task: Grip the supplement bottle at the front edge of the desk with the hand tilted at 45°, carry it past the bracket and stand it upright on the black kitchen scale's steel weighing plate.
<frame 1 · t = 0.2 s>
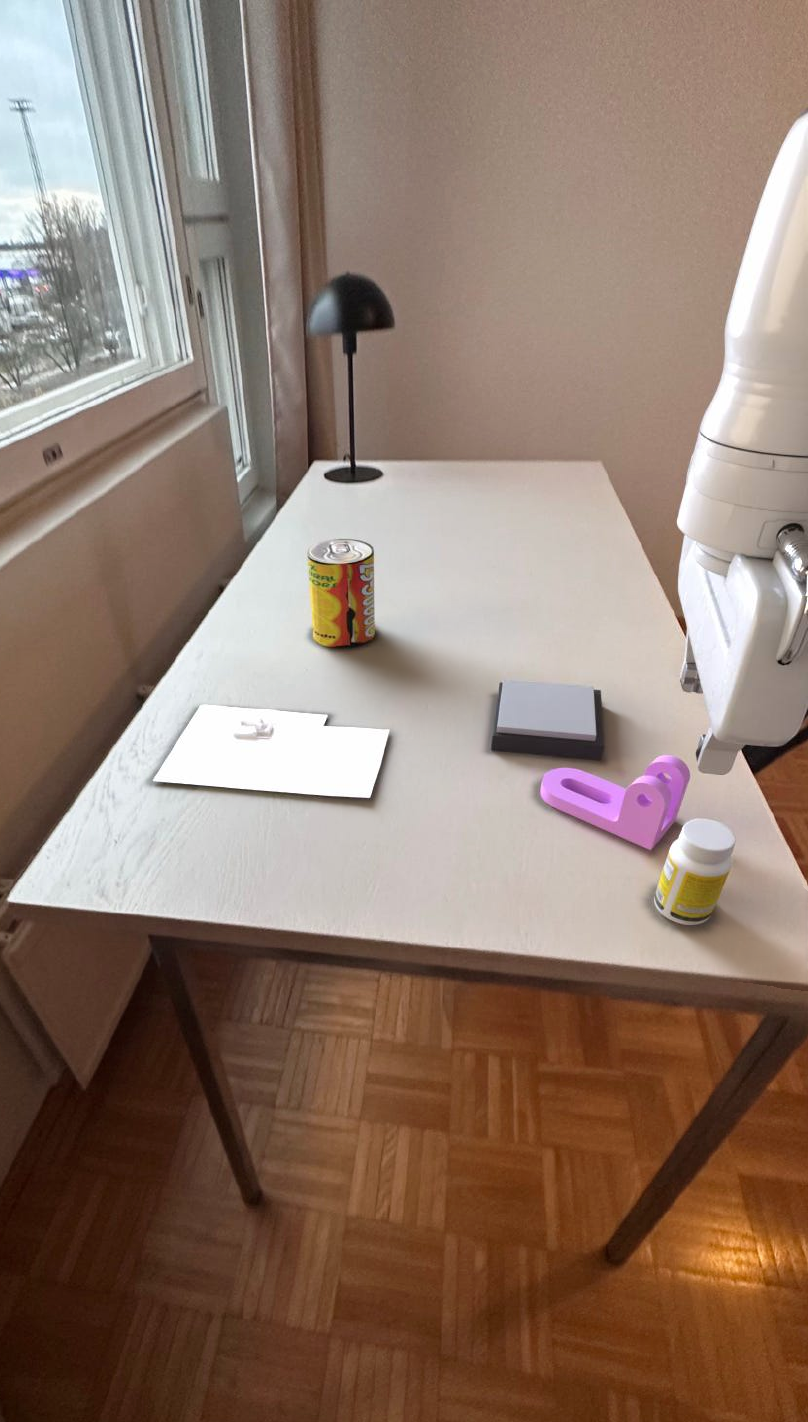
hand: (701, 724, 47), 22 cm above the table, tool pointing down, fingers open, 8 cm apart
bracket: (600, 810, 74), on the table
beverage can: (343, 634, 106), on the table
supplement bottle: (681, 908, 64), on the table
paper: (277, 750, 84), on the table
scale: (546, 726, 86), on the table
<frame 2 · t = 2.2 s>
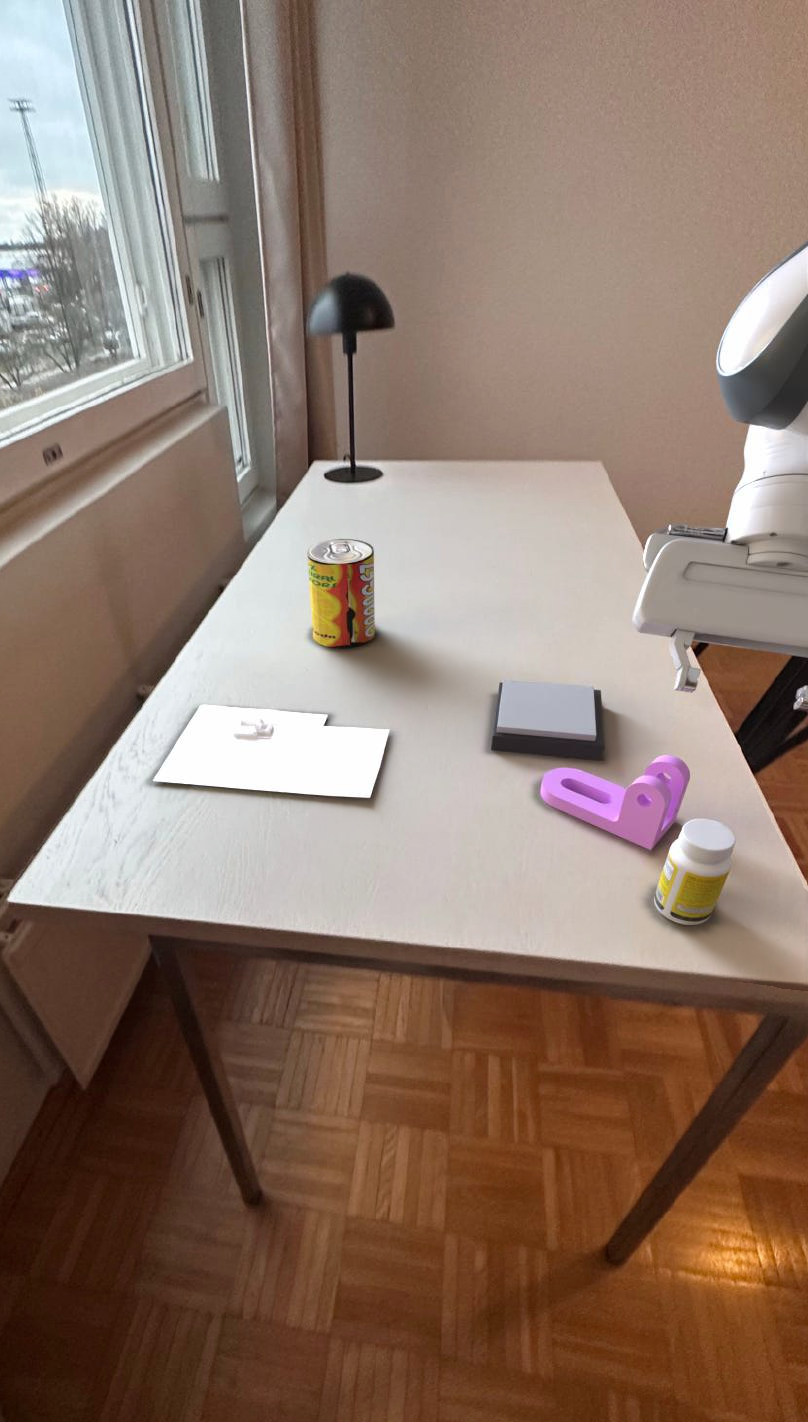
hand: (744, 700, 61), 15 cm above the table, tool tilted 40°, fingers open, 8 cm apart
nothing on the table moved.
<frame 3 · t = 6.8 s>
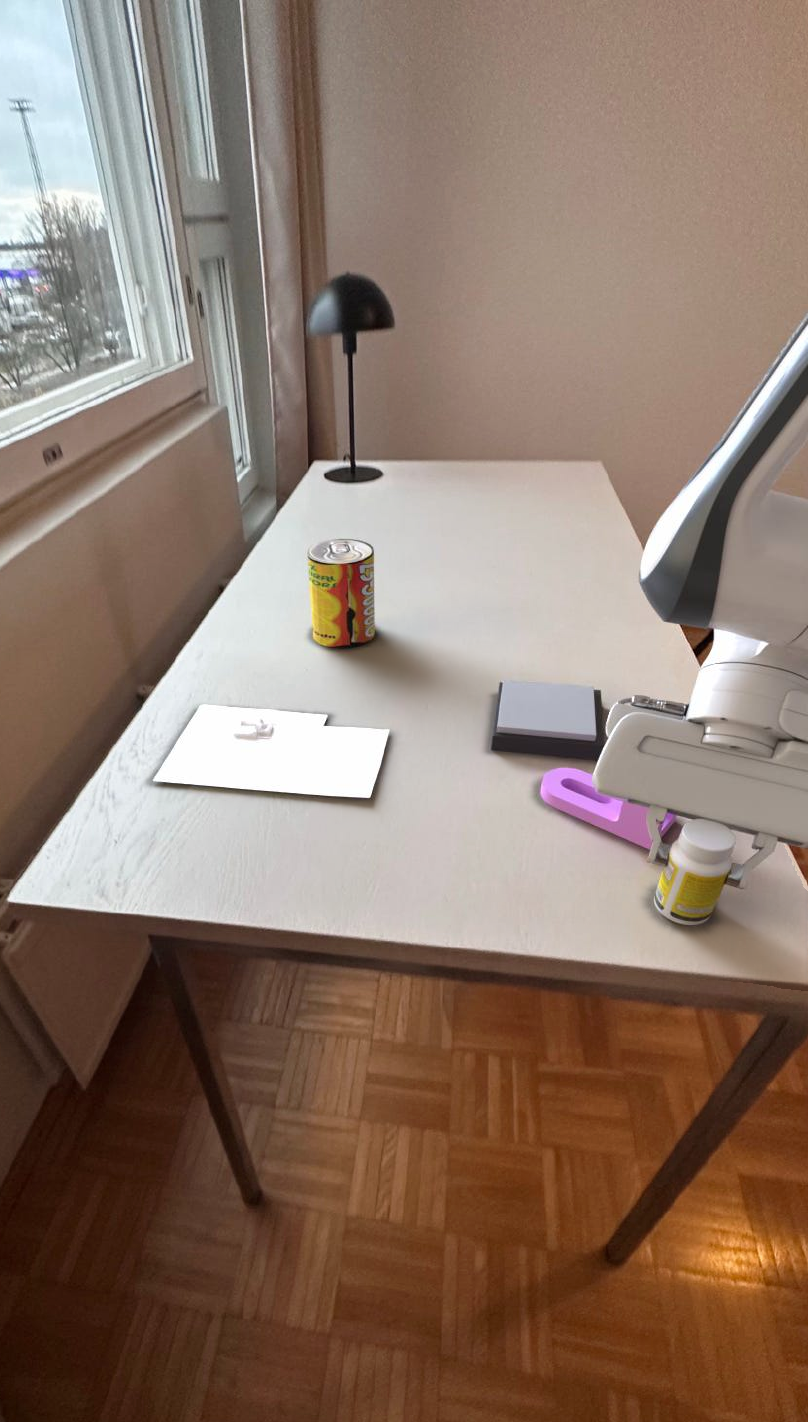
hand: (694, 875, 61), 4 cm above the table, tool tilted 45°, fingers closed on supplement bottle, 5 cm apart
supplement bottle: (680, 908, 64), on the table, touching gripper
everything else where it was.
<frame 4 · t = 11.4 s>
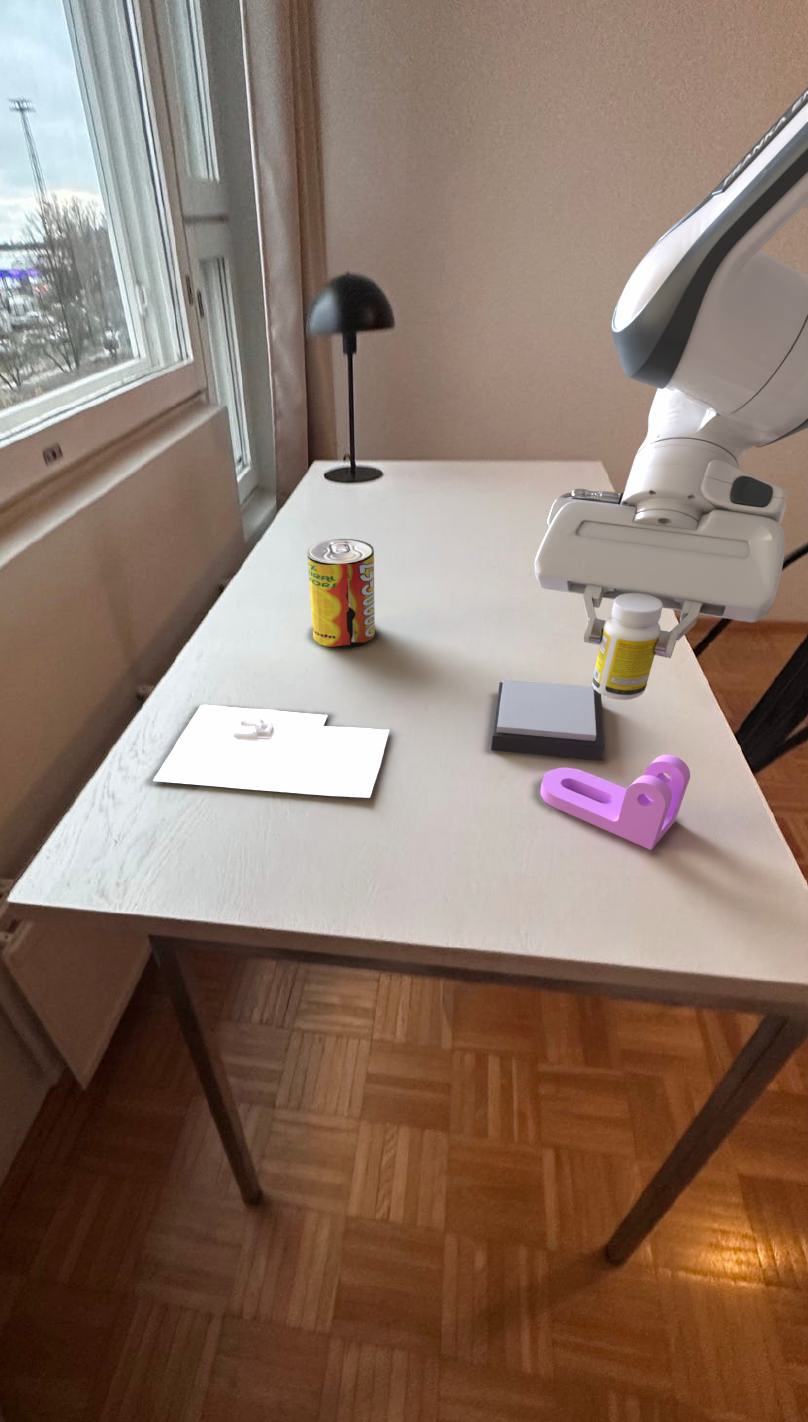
hand: (626, 648, 65), 17 cm above the table, tool tilted 45°, fingers closed on supplement bottle, 5 cm apart
supplement bottle: (617, 689, 68), point 12 cm above the table, touching gripper
everything else where it was.
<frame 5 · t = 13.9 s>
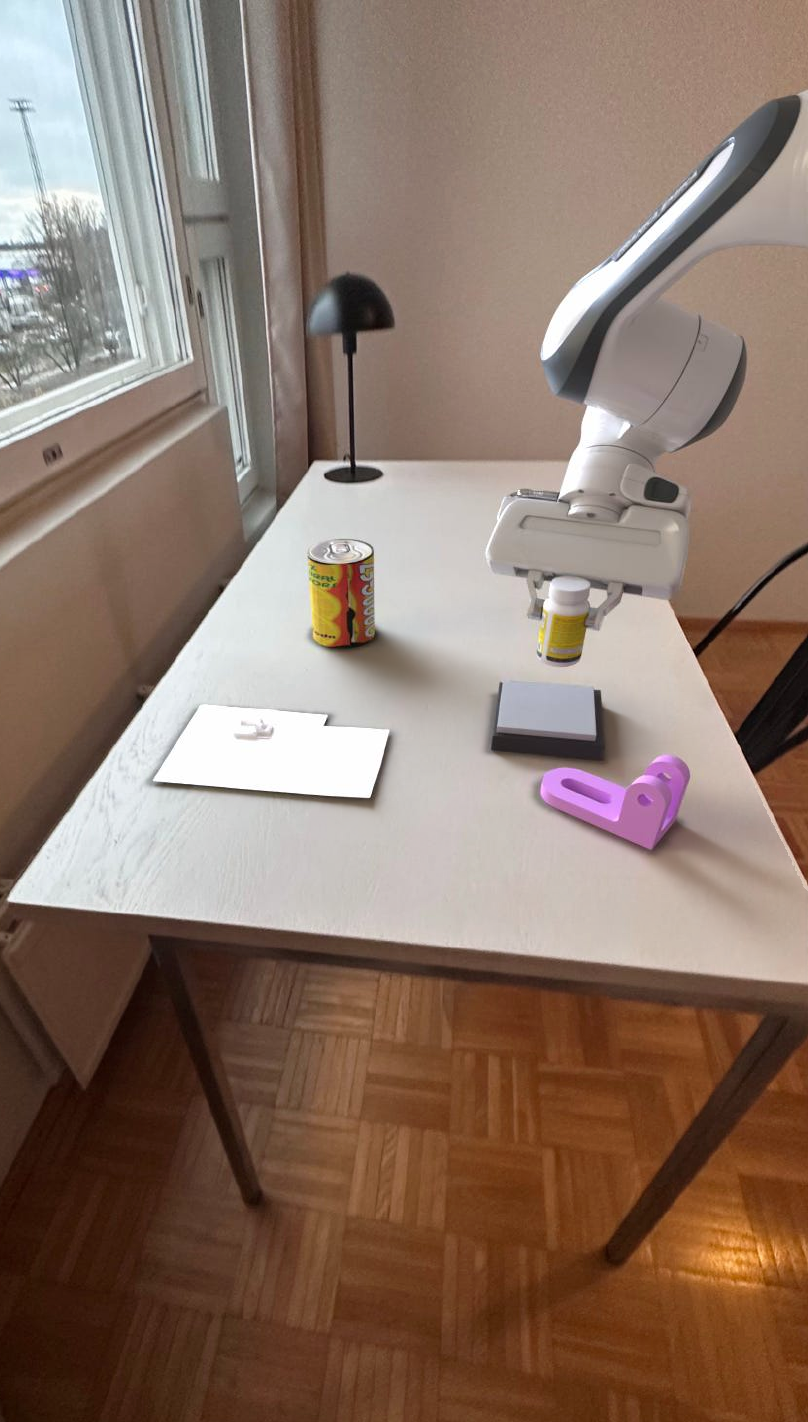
hand: (562, 622, 77), 13 cm above the table, tool tilted 45°, fingers closed on supplement bottle, 5 cm apart
supplement bottle: (557, 659, 80), point 9 cm above the table, touching gripper
everything else where it was.
when the fingers open (7 cm above the table, at t = 16.1 s): supplement bottle stays where it is, resting on scale.
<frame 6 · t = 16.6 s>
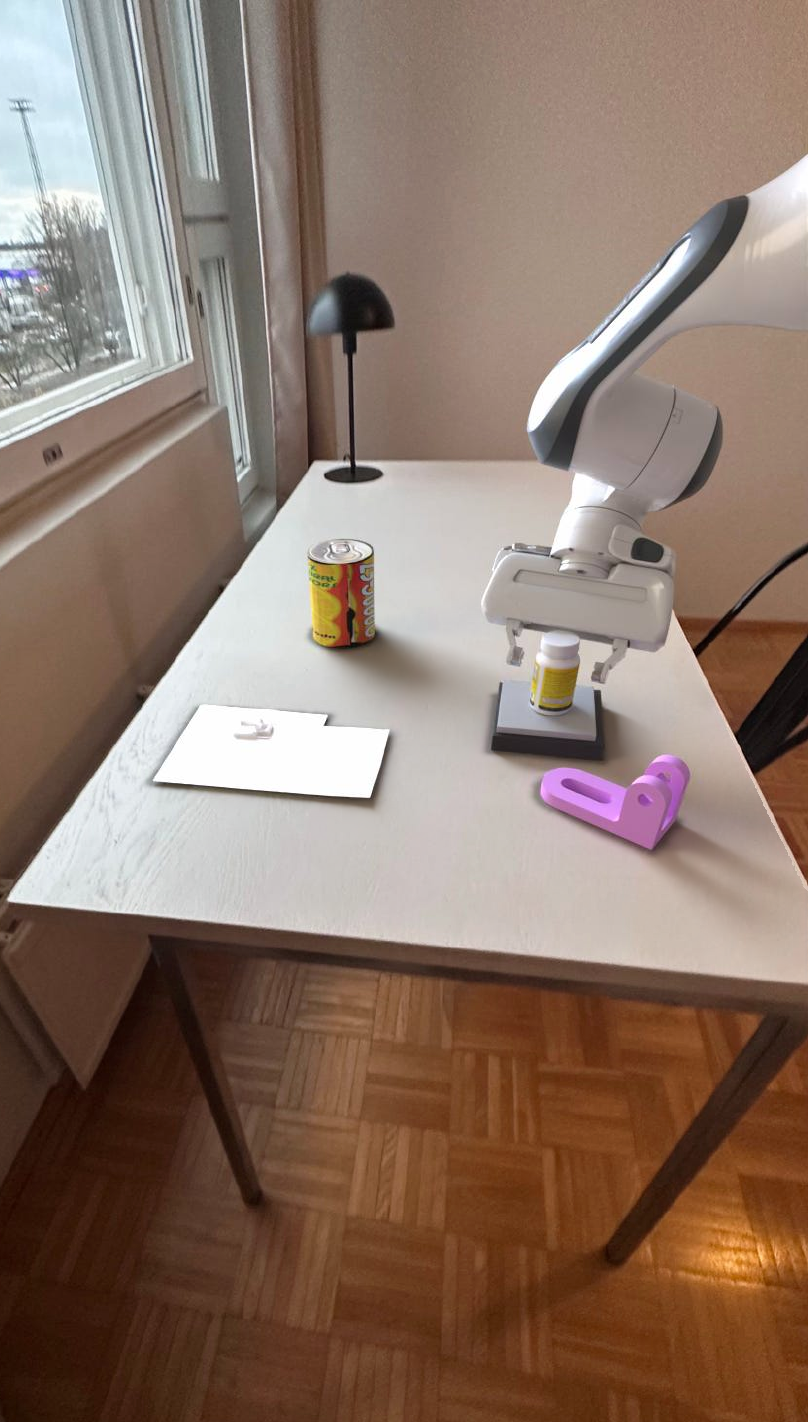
hand: (554, 672, 81), 7 cm above the table, tool tilted 45°, fingers open, 8 cm apart
supplement bottle: (549, 707, 84), point 3 cm above the table, touching scale
everything else where it was.
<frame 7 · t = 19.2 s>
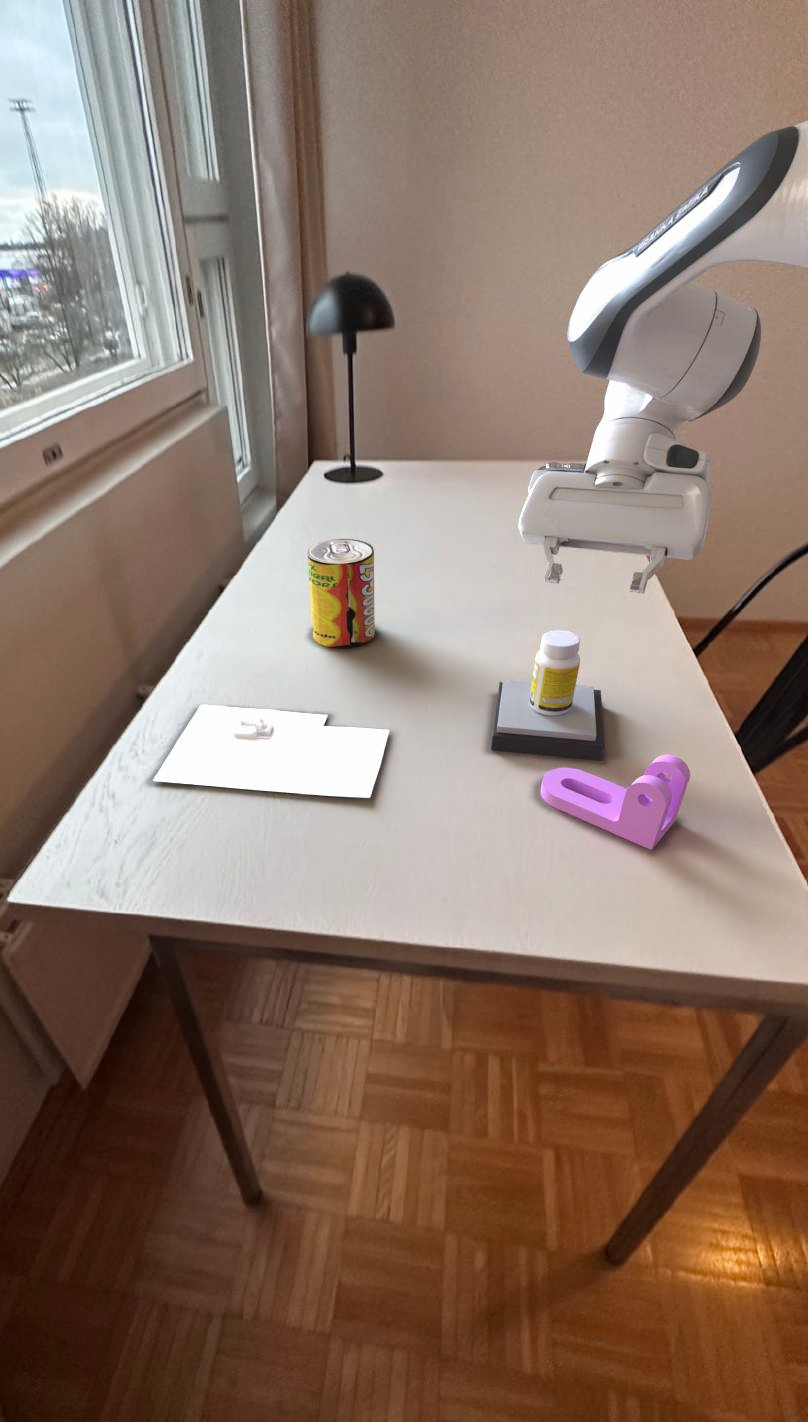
hand: (593, 586, 83), 14 cm above the table, tool tilted 40°, fingers open, 8 cm apart
nothing on the table moved.
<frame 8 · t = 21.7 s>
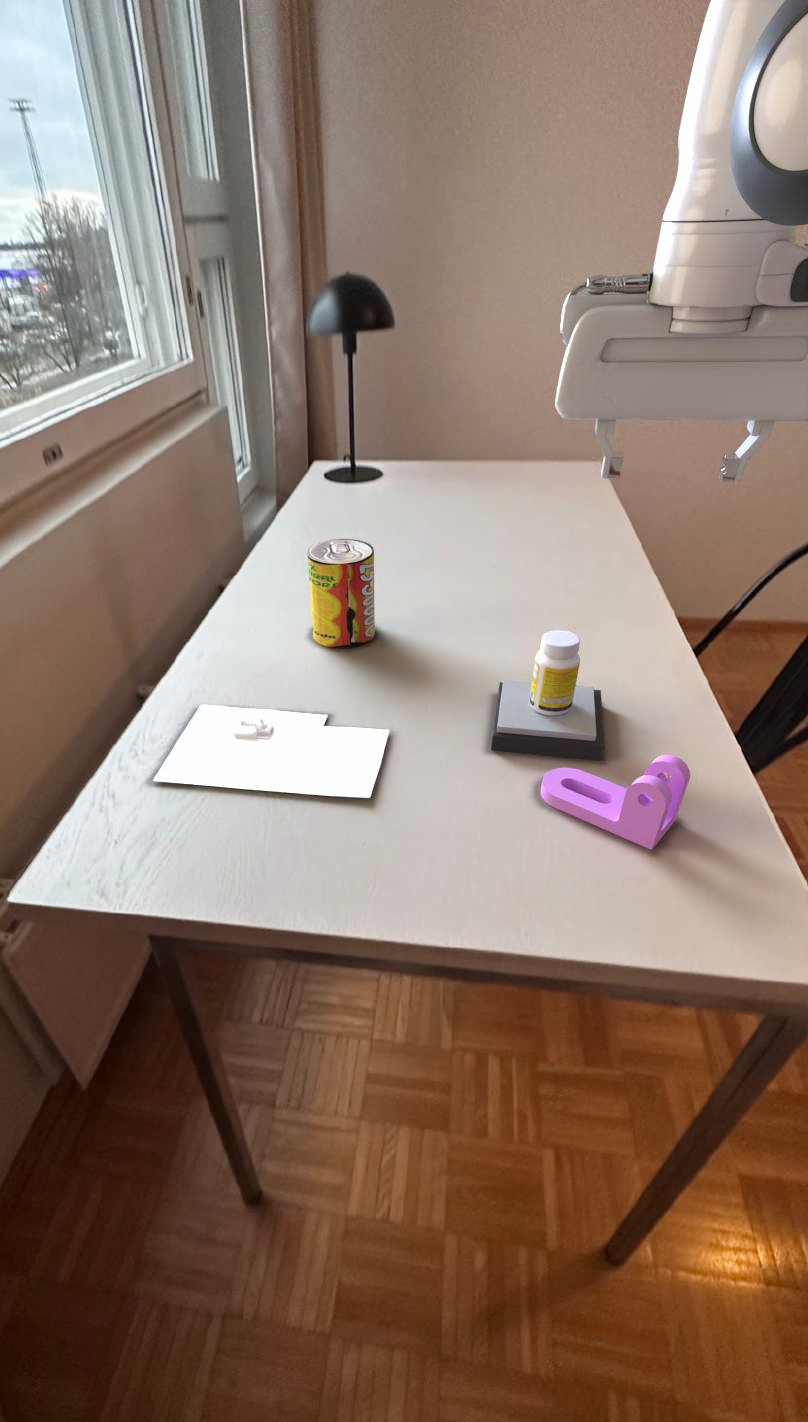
hand: (668, 478, 61), 29 cm above the table, tool pointing down, fingers open, 8 cm apart
nothing on the table moved.
at the end: supplement bottle inside the target area on the scale (0.0 cm from its centre), point 2.6 cm above the scale's base; supplement bottle tilted 0°; the gripper is holding nothing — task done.
